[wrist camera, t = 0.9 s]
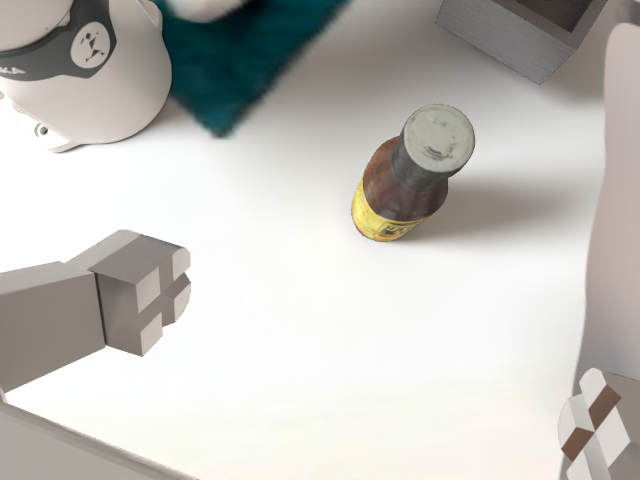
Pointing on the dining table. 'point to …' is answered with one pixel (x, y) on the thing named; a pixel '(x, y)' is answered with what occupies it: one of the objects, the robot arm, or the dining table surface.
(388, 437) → the dining table surface
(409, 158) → the sauce bottle
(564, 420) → the robot arm
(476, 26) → the open rectangular box
